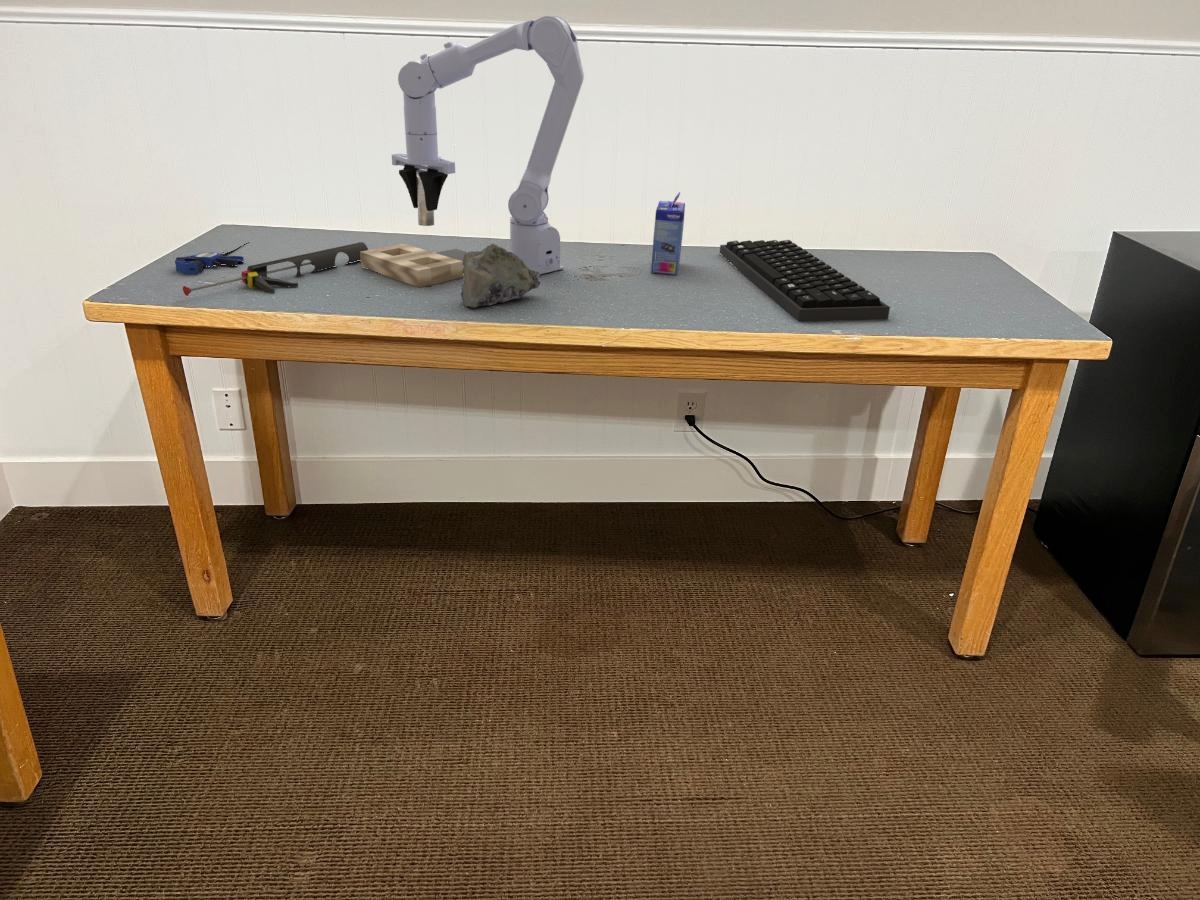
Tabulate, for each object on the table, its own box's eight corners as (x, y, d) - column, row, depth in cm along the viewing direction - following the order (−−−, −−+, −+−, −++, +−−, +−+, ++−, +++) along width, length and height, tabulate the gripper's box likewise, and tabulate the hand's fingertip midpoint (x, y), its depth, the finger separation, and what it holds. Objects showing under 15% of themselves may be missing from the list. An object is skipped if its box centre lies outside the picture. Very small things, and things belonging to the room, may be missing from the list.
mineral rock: (541, 295, 152) (541, 237, 148) (535, 313, 143) (534, 253, 138) (468, 292, 152) (465, 235, 148) (457, 310, 143) (454, 250, 138)
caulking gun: (388, 255, 166) (353, 236, 170) (211, 296, 139) (174, 273, 143) (387, 274, 168) (352, 255, 172) (212, 319, 141) (176, 295, 145)
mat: (487, 259, 173) (487, 257, 173) (447, 267, 166) (447, 266, 166) (455, 250, 179) (455, 248, 179) (416, 258, 172) (416, 256, 172)
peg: (437, 224, 167) (435, 170, 162) (426, 226, 164) (423, 171, 160) (426, 222, 168) (424, 168, 164) (415, 224, 166) (412, 169, 162)
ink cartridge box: (679, 275, 166) (684, 198, 160) (650, 273, 167) (654, 196, 160) (681, 263, 175) (686, 189, 168) (653, 261, 176) (658, 187, 169)
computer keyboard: (719, 257, 183) (720, 239, 181) (790, 256, 185) (792, 238, 183) (797, 325, 143) (800, 302, 141) (887, 322, 146) (891, 300, 144)
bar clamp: (222, 263, 156) (167, 261, 156) (224, 277, 157) (169, 275, 157) (286, 231, 186) (240, 229, 186) (287, 242, 187) (241, 241, 187)
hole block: (463, 277, 161) (462, 261, 159) (419, 287, 154) (418, 270, 153) (404, 258, 171) (403, 243, 170) (361, 267, 165) (359, 251, 163)
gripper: (465, 135, 158) (468, 211, 164) (409, 127, 165) (413, 200, 171) (438, 138, 153) (441, 216, 159) (381, 130, 160) (386, 205, 166)
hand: (425, 208), depth 165 cm, fingers closed on peg, 3 cm apart
